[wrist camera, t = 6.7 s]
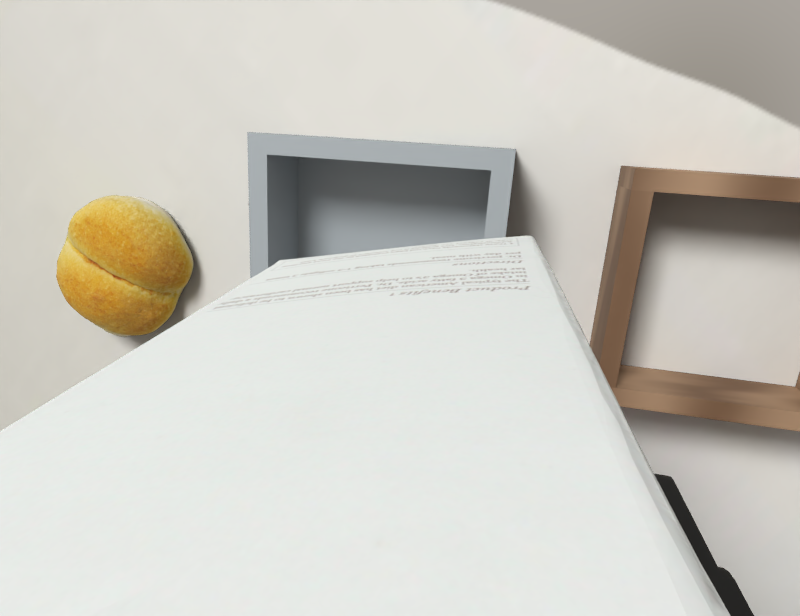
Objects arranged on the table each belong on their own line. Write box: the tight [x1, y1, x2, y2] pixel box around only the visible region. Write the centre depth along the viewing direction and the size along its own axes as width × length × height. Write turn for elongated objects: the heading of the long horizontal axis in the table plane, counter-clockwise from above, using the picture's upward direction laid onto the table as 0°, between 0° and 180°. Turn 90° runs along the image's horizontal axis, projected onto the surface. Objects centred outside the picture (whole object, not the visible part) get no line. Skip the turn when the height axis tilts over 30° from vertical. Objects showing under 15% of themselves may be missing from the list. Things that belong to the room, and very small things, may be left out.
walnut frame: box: [590, 166, 800, 431], centre depth 27 cm, size 12×12×4 cm
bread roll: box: [56, 195, 193, 337], centre depth 34 cm, size 8×9×4 cm
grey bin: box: [248, 132, 516, 278], centre depth 30 cm, size 13×13×5 cm
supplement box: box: [0, 236, 730, 616], centre depth 10 cm, size 7×7×13 cm
